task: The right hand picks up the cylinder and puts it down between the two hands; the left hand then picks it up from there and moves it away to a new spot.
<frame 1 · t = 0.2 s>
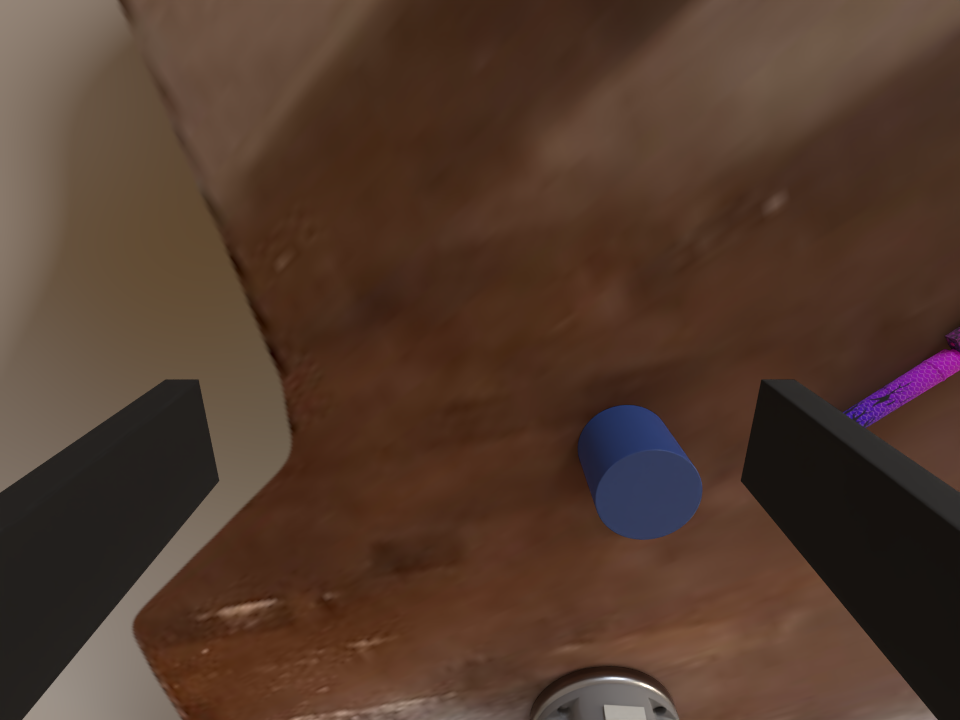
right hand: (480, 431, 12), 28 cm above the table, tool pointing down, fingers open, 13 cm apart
handgun: (950, 317, 40), on the table
cylinder: (622, 445, 44), on the table
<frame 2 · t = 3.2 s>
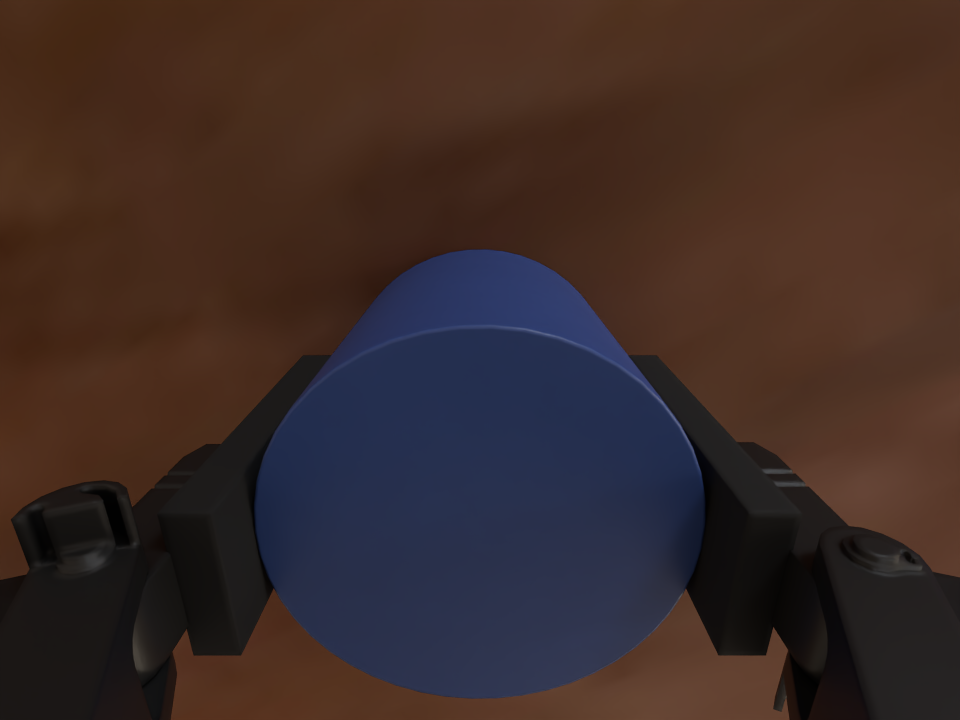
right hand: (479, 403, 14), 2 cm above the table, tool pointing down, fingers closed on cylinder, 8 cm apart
cylinder: (479, 378, 16), on the table, touching right hand
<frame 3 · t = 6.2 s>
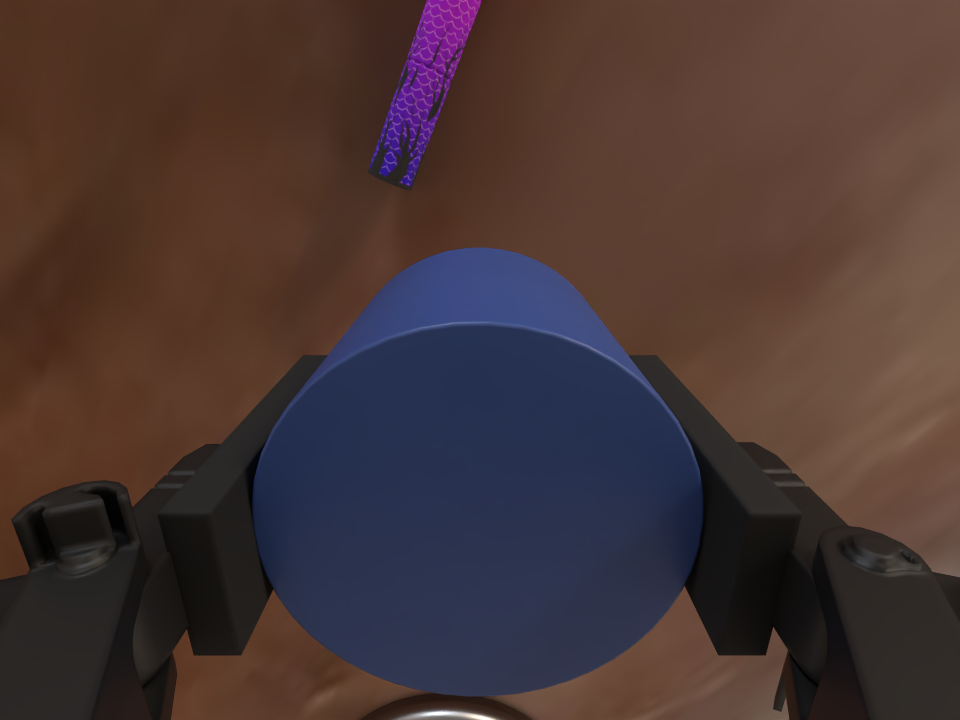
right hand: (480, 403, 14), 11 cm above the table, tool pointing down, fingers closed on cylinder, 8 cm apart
cylinder: (478, 376, 16), point 10 cm above the table, touching right hand
when the right hand's fingers open (3 cm above the table, at t = 9.5 s): cylinder drops 1 cm, on the table.
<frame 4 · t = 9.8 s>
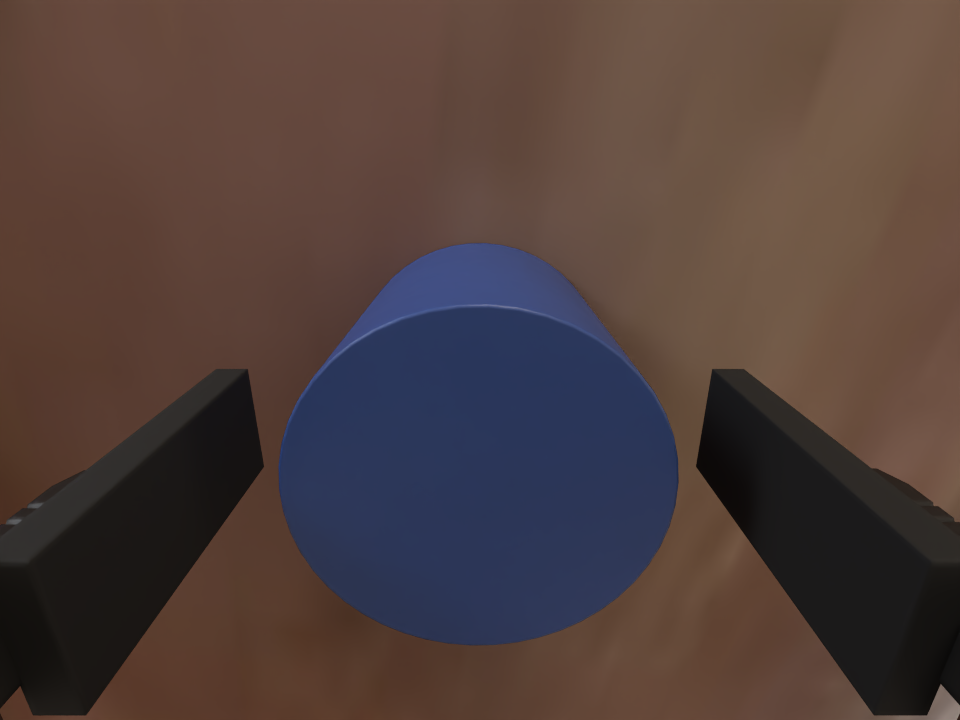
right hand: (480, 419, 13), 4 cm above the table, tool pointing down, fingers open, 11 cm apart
cylinder: (479, 363, 17), on the table
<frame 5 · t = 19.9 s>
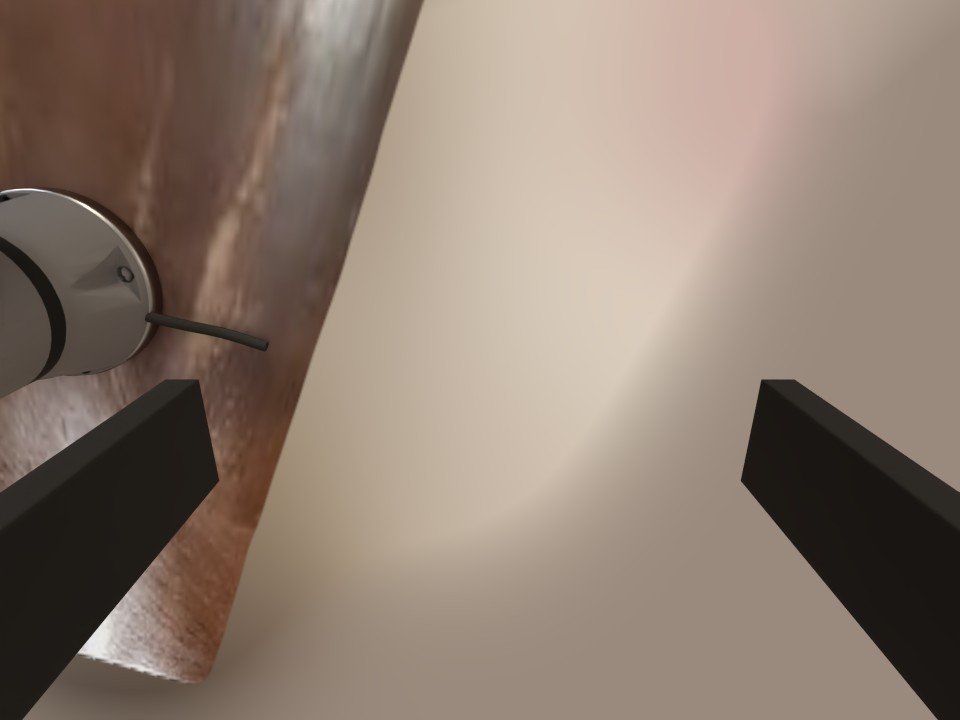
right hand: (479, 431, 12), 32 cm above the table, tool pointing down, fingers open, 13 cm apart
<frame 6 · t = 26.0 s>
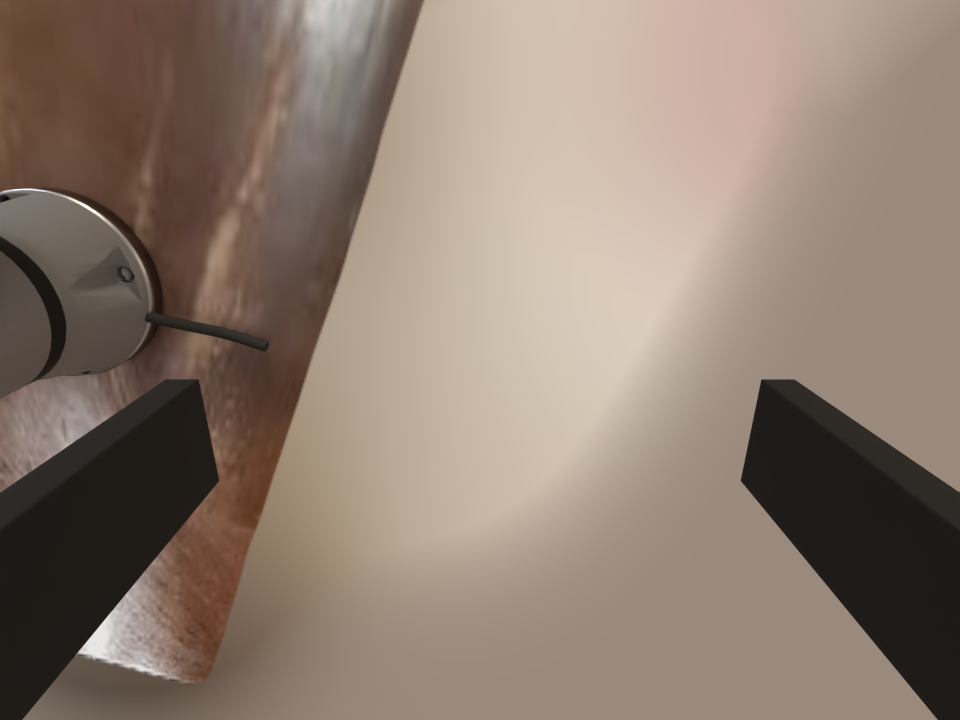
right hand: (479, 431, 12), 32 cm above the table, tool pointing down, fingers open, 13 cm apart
when the left hand's fingers open (3 cm above the table, at t = 32.1 s): cylinder drops 1 cm, on the table.
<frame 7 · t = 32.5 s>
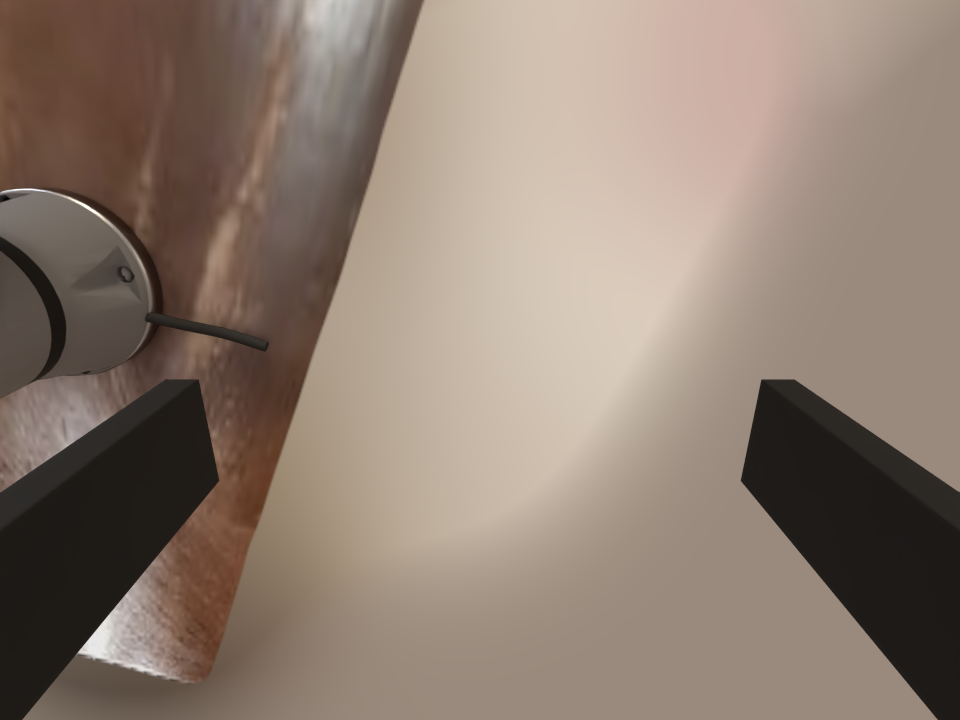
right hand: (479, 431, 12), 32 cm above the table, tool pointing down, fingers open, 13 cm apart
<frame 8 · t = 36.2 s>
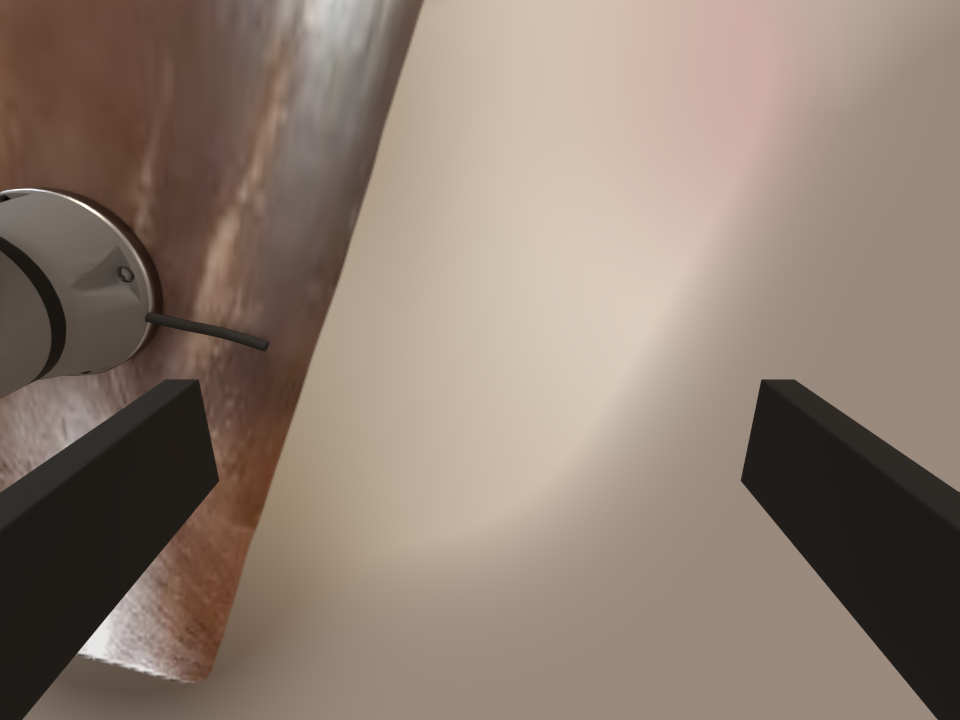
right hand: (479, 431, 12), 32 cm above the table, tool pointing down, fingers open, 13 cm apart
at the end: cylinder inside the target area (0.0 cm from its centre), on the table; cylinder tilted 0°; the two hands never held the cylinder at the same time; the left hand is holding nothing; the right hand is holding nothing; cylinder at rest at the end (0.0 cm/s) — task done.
